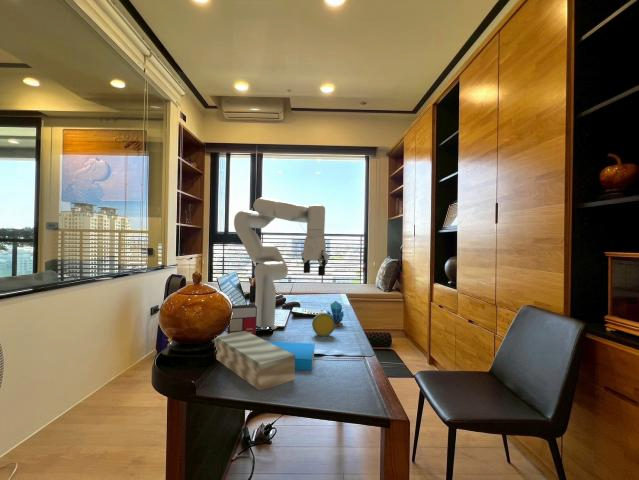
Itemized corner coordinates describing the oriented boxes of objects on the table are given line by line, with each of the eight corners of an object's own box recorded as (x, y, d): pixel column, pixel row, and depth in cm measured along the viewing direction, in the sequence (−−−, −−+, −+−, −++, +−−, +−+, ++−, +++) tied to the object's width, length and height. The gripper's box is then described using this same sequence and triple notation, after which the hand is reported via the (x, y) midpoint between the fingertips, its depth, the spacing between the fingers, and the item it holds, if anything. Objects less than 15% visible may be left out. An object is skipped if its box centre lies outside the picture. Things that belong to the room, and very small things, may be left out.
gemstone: (325, 323, 165) (326, 300, 165) (342, 323, 166) (343, 300, 166) (327, 327, 158) (328, 302, 158) (345, 327, 159) (346, 303, 159)
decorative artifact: (312, 336, 141) (313, 313, 141) (311, 331, 148) (311, 310, 148) (334, 336, 142) (335, 314, 143) (332, 332, 149) (333, 310, 150)
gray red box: (228, 346, 124) (229, 308, 124) (226, 342, 128) (228, 305, 128) (256, 343, 129) (257, 306, 129) (253, 340, 133) (255, 304, 133)
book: (249, 340, 122) (314, 342, 121) (249, 351, 122) (314, 353, 121) (236, 356, 105) (312, 358, 104) (236, 369, 105) (312, 372, 104)
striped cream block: (214, 357, 112) (214, 336, 112) (244, 350, 120) (245, 330, 120) (259, 390, 89) (260, 364, 89) (294, 379, 97) (295, 355, 97)
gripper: (296, 233, 140) (294, 272, 140) (322, 233, 127) (320, 276, 127) (309, 234, 145) (307, 271, 145) (335, 234, 132) (334, 275, 132)
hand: (313, 274), depth 136 cm, fingers open, 9 cm apart
